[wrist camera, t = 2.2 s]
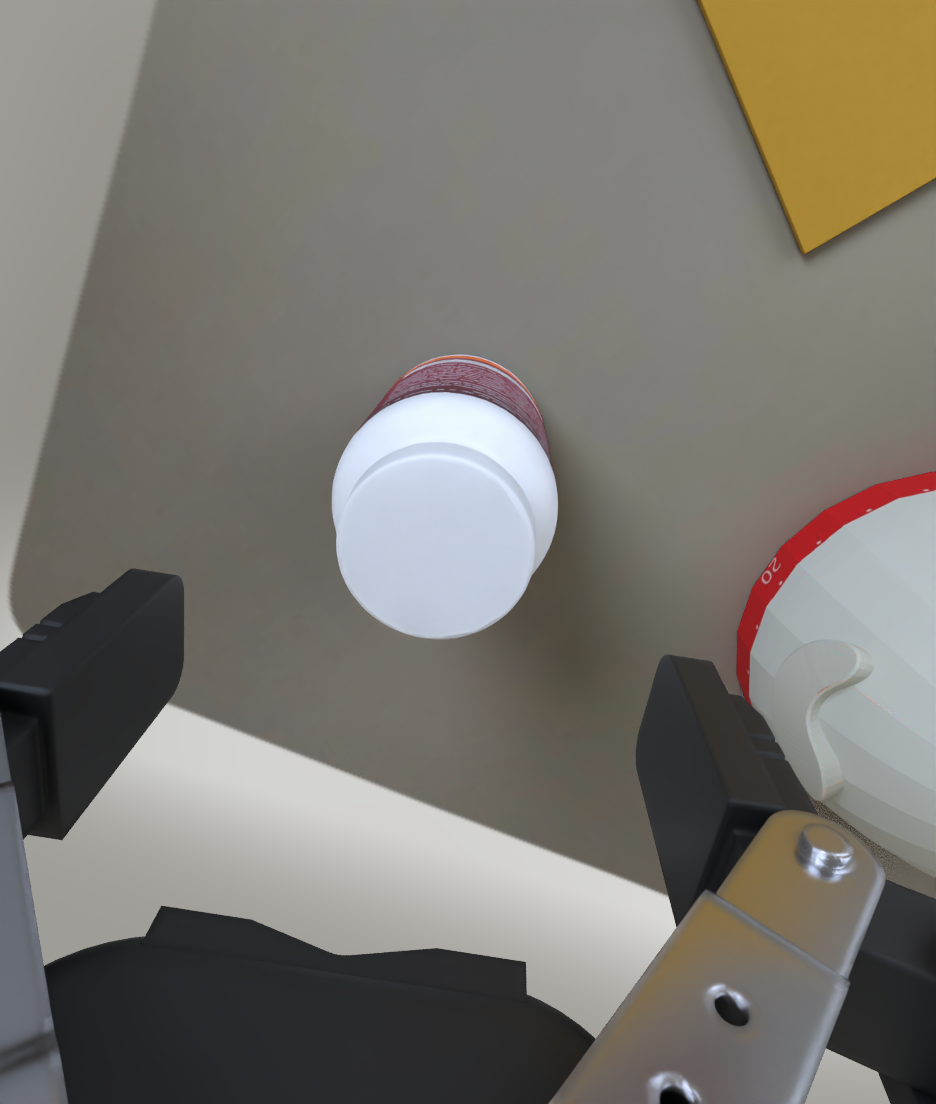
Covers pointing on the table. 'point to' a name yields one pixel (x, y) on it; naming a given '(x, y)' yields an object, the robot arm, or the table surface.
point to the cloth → (834, 101)
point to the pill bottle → (445, 499)
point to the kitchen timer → (855, 662)
